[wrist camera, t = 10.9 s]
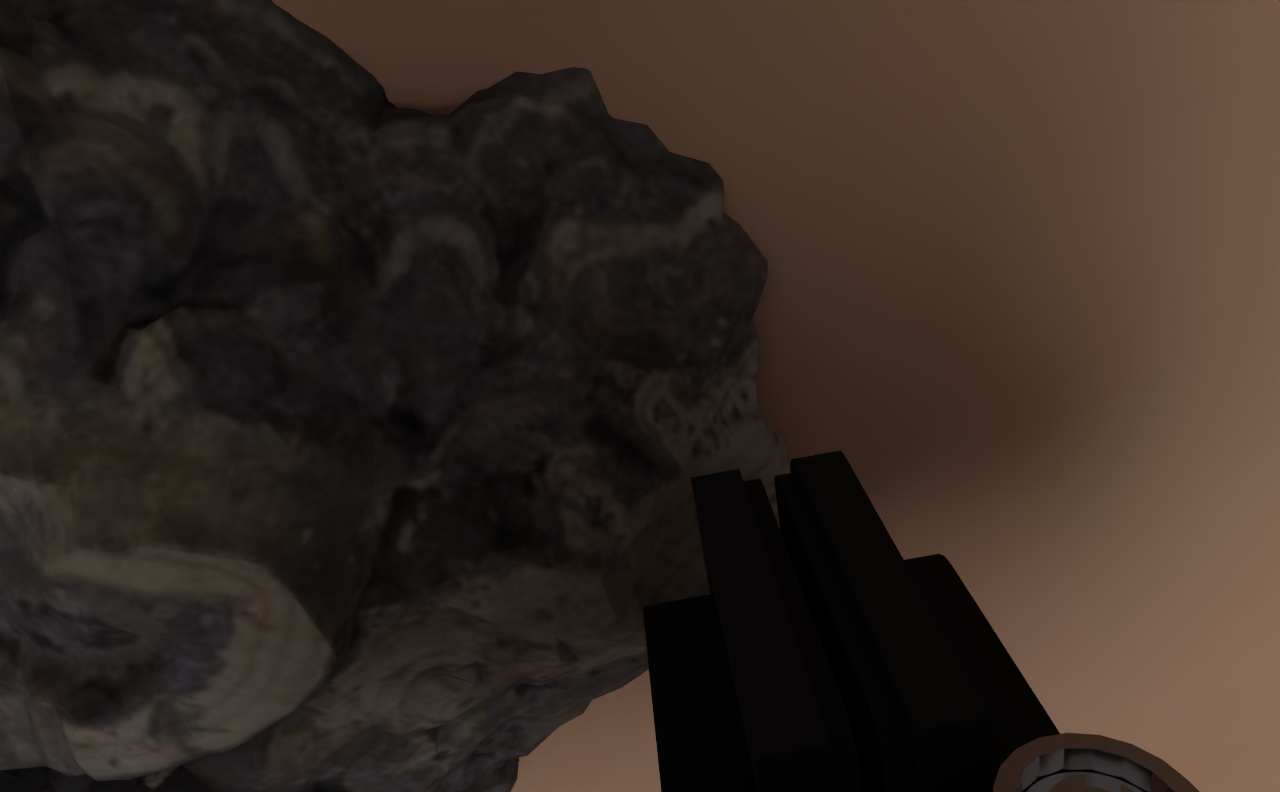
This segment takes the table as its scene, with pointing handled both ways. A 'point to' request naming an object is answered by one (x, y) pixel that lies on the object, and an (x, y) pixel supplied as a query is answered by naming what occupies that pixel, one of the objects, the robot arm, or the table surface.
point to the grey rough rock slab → (339, 406)
